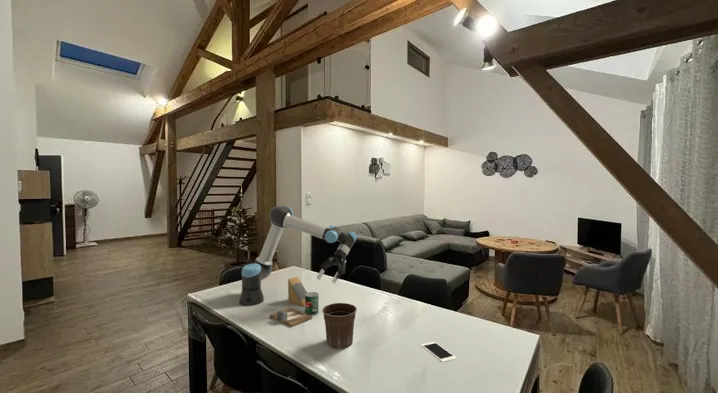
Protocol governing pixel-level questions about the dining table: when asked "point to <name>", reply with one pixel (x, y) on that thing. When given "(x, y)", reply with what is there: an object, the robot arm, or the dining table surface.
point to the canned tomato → (311, 303)
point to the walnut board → (290, 317)
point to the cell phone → (438, 351)
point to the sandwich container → (296, 291)
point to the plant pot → (339, 324)
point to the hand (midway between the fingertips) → (325, 280)
